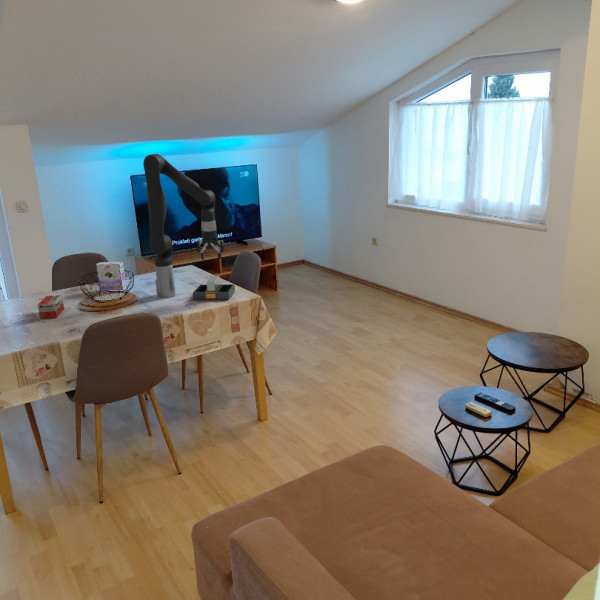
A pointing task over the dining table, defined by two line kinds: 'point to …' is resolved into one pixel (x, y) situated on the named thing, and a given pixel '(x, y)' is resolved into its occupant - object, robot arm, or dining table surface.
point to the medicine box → (51, 307)
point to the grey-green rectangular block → (213, 284)
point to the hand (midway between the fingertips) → (211, 259)
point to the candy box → (111, 276)
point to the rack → (221, 294)
